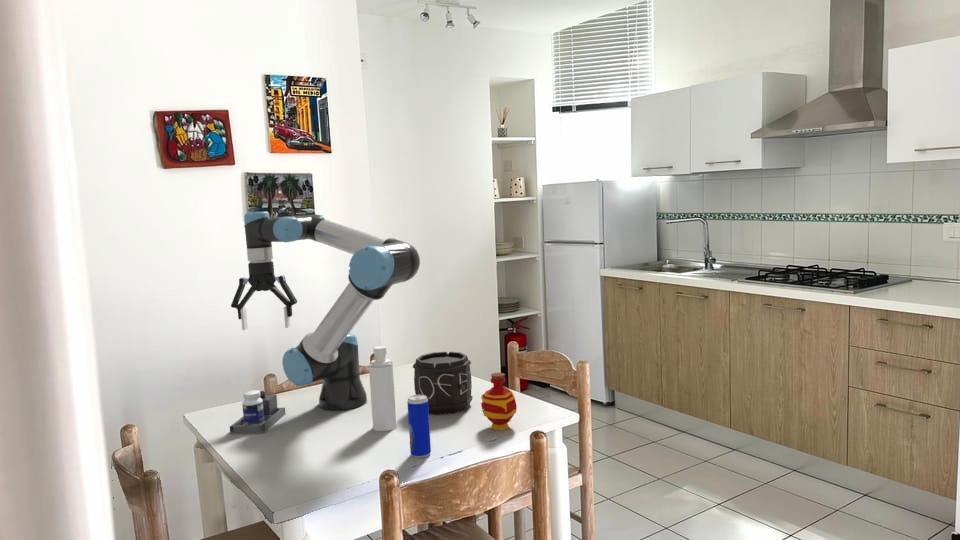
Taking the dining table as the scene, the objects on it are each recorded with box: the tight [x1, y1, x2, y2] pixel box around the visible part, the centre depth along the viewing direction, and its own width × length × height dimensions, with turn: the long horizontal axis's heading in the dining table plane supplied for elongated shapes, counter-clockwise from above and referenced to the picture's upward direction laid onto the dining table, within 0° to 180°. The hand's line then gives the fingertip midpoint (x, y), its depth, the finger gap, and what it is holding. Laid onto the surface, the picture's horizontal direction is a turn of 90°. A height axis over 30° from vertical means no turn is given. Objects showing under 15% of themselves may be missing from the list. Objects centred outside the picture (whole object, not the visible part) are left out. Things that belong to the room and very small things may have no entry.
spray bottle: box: [368, 345, 397, 432], centre depth 195 cm, size 7×7×25 cm
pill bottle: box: [242, 389, 264, 425], centre depth 201 cm, size 6×6×10 cm
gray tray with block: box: [229, 390, 286, 435], centre depth 204 cm, size 10×17×9 cm, turn 175°
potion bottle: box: [480, 372, 518, 431], centre depth 191 cm, size 10×10×15 cm
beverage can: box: [406, 394, 432, 459], centre depth 173 cm, size 5×5×15 cm
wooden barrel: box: [412, 351, 474, 416], centre depth 212 cm, size 18×18×16 cm
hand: (266, 328), depth 216 cm, fingers open, 13 cm apart
